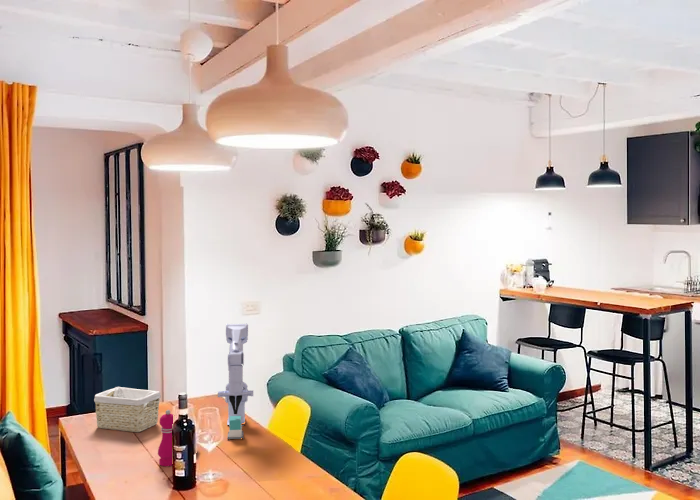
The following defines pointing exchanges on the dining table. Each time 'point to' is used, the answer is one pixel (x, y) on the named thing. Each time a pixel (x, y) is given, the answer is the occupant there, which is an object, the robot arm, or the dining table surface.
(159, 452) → the pepper mill
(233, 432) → the cream brick
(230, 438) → the baseplate
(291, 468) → the dining table surface
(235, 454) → the dining table surface
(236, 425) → the teal brick
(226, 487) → the dining table surface
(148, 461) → the dining table surface
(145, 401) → the storage basket
